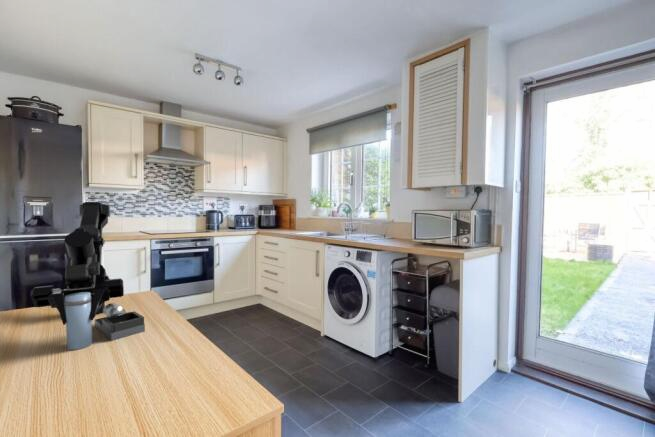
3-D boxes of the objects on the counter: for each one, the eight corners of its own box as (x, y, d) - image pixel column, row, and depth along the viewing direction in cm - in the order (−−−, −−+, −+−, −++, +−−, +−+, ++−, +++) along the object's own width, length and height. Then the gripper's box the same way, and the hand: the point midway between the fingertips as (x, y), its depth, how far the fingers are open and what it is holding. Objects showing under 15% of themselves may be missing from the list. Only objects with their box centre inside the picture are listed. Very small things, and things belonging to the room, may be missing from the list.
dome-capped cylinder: (64, 346, 77) (62, 295, 77) (89, 339, 81) (88, 290, 81) (69, 352, 74) (67, 299, 74) (95, 344, 78) (93, 294, 78)
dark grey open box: (94, 326, 90) (94, 306, 90) (125, 318, 96) (125, 299, 96) (111, 340, 81) (110, 318, 80) (144, 331, 87) (144, 310, 86)
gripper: (30, 255, 75) (17, 313, 66) (122, 249, 85) (121, 299, 76) (40, 280, 82) (29, 335, 73) (124, 272, 92) (123, 320, 83)
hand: (77, 321), depth 76 cm, fingers closed on dome-capped cylinder, 5 cm apart
